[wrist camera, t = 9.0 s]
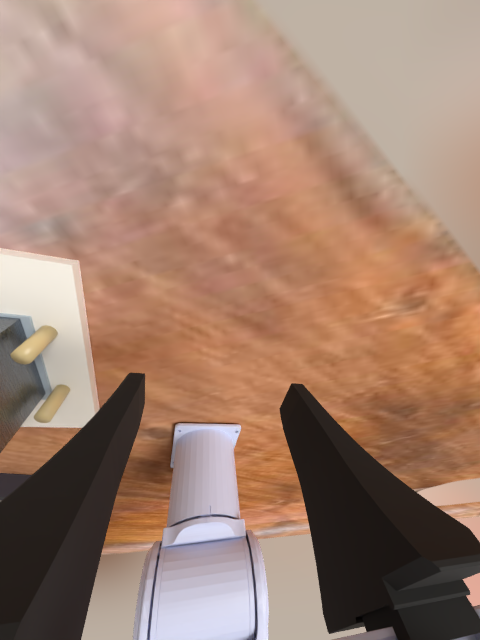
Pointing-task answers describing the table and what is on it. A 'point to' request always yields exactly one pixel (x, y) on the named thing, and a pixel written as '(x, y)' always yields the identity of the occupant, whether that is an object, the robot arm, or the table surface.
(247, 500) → the table surface
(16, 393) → the block
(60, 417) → the cream pegged board
